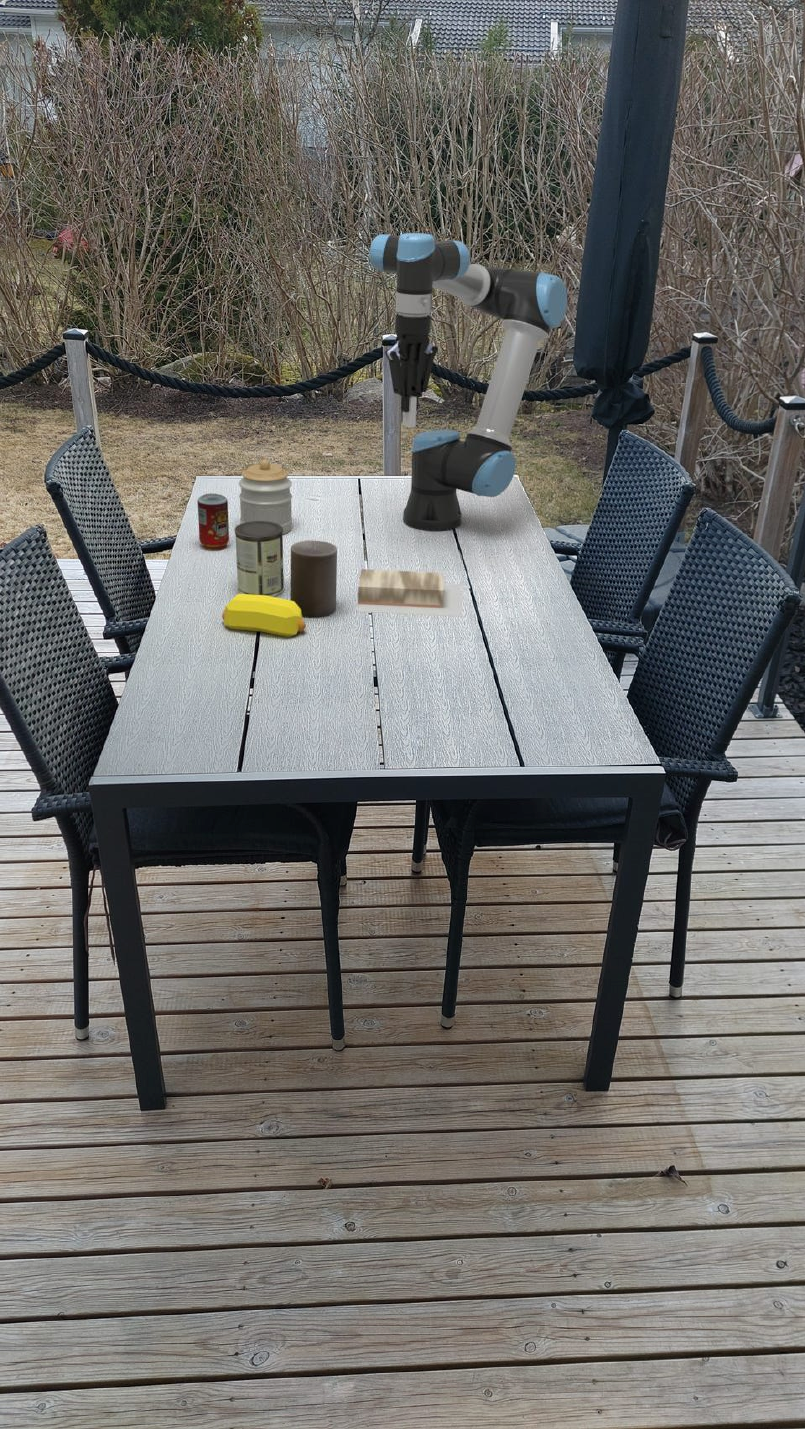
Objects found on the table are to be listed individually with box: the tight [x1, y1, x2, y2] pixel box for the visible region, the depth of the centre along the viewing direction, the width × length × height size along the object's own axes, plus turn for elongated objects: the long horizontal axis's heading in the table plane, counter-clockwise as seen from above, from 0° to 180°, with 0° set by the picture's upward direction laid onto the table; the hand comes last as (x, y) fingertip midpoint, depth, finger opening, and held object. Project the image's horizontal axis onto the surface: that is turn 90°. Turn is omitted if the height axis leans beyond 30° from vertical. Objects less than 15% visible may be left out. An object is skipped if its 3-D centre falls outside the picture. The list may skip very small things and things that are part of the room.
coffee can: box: [234, 521, 285, 597], centre depth 240 cm, size 10×10×14 cm
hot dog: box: [221, 593, 307, 638], centre depth 225 cm, size 18×7×8 cm
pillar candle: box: [289, 539, 338, 619], centre depth 232 cm, size 10×10×15 cm
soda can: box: [196, 493, 230, 551], centre depth 263 cm, size 7×7×12 cm
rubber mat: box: [357, 582, 463, 618], centre depth 241 cm, size 22×18×1 cm
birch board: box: [357, 568, 444, 608], centre depth 240 cm, size 4×10×18 cm
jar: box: [238, 458, 293, 535], centre depth 274 cm, size 13×13×18 cm
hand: (409, 426), depth 244 cm, fingers closed
